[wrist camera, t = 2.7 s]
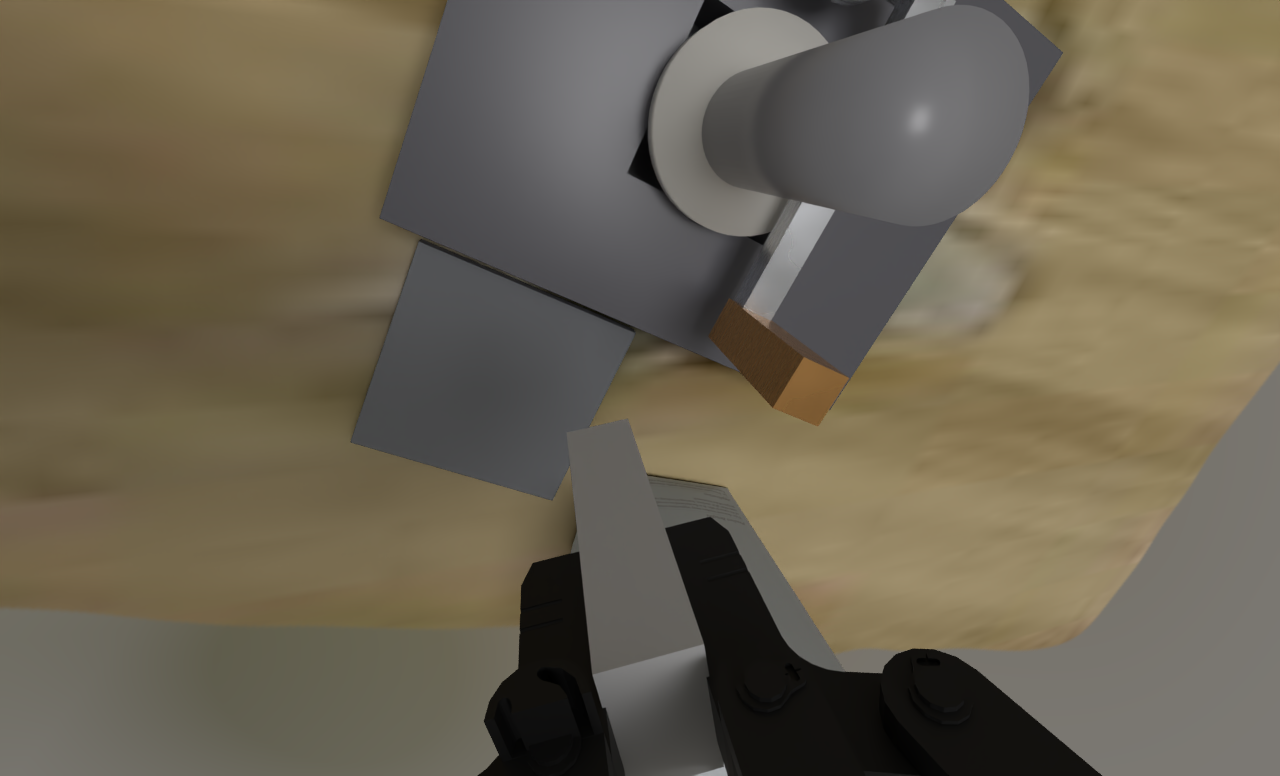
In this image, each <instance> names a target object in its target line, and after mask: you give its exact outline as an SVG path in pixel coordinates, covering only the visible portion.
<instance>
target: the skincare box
mask: <svg viewBox="0 0 1280 776" xmlns="http://www.w3.org/2000/svg"><path fill="white" fill-rule="evenodd" d="M647 477H648V480H649V483H650V486H651V489H652V492H653V495H654V498H655V501H656V503H657V506H658V509H659V512H660V515H661V518H662V521H663V524H664V527H665V528H667V527H671V526H675V525H679V524H683V523H687V522H691V521H695V520H699V519H702V518H706V517H711V518H713V519H714V520H715V521H717V522H718V523H719V524H720V525H722V526H723V527H724V528H726V529H727V530H728V531H729V532H730V534H731V536H732V538H733V540H734V542H735V544H736V546H737V548H738V550H739V554H740V555H741V556H742V558H743V560H744V562H745V564H746V566H747V569H748V572H750V574H751V576H752V578H753V580H754V582H755V584H756V586H757V588H758V590H759V592H760V594H761V596H762V598H763V600H764V602H765V604H766V606H767V608H768V610H769V612H770V614H771V616H772V618H773V620H774V622H775V624H776V626H777V628H778V630H779V632H780V634H781V636H782V637H783V639H784V640H785V642H786V643H787V644H788V646H789V647H790V648H791V649H792V650H793V651H794V652H795V653H796V654H798V655H799V656H800V657H802V658H803V659H805V660H807V661H808V662H810V663H812V664H814V665H817V666H819V667H822V668H825V669H828V670H835V671H842V672H846V671H845V670H844V668H843V667H842V665H841V664H840V662H839V661H838V659H837V658H836V656H835V655H834V653H833V652H832V650H831V649H830V647H829V645H828V644H827V642H826V641H825V639H824V638H823V636H822V635H821V633H820V632H819V630H818V628H817V627H816V625H815V624H814V622H813V621H812V619H811V618H810V616H809V614H808V613H807V611H806V610H805V608H804V607H803V605H802V603H801V602H800V600H799V599H798V597H797V596H796V594H795V592H794V591H793V589H792V588H791V586H790V585H789V583H788V582H787V580H786V579H785V577H784V576H783V574H782V573H781V571H780V569H779V568H778V566H777V565H776V563H775V562H774V560H773V559H772V557H771V556H770V554H769V552H768V551H767V549H766V548H765V546H764V545H763V543H762V541H761V540H760V538H759V537H758V535H757V534H756V532H755V531H754V529H753V528H752V526H751V525H750V523H749V521H748V520H747V518H746V517H745V515H744V514H743V512H742V511H741V509H740V507H739V506H738V504H737V503H736V501H735V500H734V498H733V497H732V495H731V493H730V492H729V490H728V488H725V487H719V486H712V485H705V484H699V483H693V482H686V481H679V480H673V479H666V478H660V477H653V476H647ZM575 552H579V544H578V535H577V533H576V536H575V539H574V542H573V545H572V549H571V553H575ZM694 776H728V775H727V772H726V769H725V765H724V767H721V768H718V769H715V770H711V771H708V772H704V773H701V774H698V775H694Z"/></svg>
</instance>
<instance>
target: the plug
mask: <svg viewBox="0 0 1280 776" xmlns="http://www.w3.org/2000/svg"><path fill="white" fill-rule="evenodd" d="M1028 103H1029V74H1028V68H1027V62H1026V59H1025V56H1024V52H1023V49H1022V47H1021V45H1020V43H1019V41H1018V39H1017V37H1016V36H1015V34H1014V33H1013V31H1012V30H1011V28H1010V27H1009V26H1008V25H1007V24H1006V23H1005V22H1004V21H1003V20H1002V19H1000V18H999V17H998V16H996V15H995V14H993V13H991V12H989V11H987V10H985V9H983V8H979V7H975V6H971V5H951V6H944V7H941V8H938V9H934V10H931V11H928V12H925V13H921V14H918V15H915V16H912V17H909V18H906V19H903V20H900V21H897V22H893V23H890V24H887V25H884V26H881V27H878V28H875V29H872V30H869V31H865V32H862V33H859V34H856V35H853V36H850V37H847V38H844V39H841V40H837V41H834V42H831V43H828V42H827V41H826V39H825V38H824V37H823V36H822V35H821V34H820V32H819V31H817V30H816V29H815V28H814V27H813V26H812V25H810V24H809V23H808V22H806V21H804V20H803V19H801V18H800V17H798V16H796V15H793V14H791V13H788V12H786V11H782V10H778V9H773V8H759V7H757V8H748V9H742V10H739V11H735V12H732V13H729V14H727V15H724V16H722V17H720V18H718V19H716V20H714V21H713V22H711V23H710V24H708V25H707V26H705V27H704V28H702V29H700V30H699V31H697V32H696V33H694V34H693V35H692V36H691V37H690V38H689V39H688V40H686V41H685V42H684V43H683V44H682V45H681V46H680V48H679V49H678V50H677V51H676V52H675V53H674V55H673V56H672V58H671V59H670V60H669V62H668V63H667V65H666V66H665V68H664V70H663V72H662V74H661V76H660V78H659V80H658V83H657V85H656V88H655V91H654V93H653V97H652V101H651V105H650V110H649V118H648V145H649V153H650V158H651V162H652V166H653V169H654V172H655V174H656V177H657V180H658V181H659V183H660V185H661V187H662V189H663V191H664V192H665V194H666V195H667V197H668V198H669V200H670V201H671V202H672V203H673V204H674V205H675V206H676V208H677V209H678V210H679V211H681V212H682V213H683V214H684V215H685V216H687V217H688V218H690V219H691V220H693V221H694V222H696V223H698V224H700V225H702V226H704V227H706V228H708V229H711V230H713V231H715V232H718V233H722V234H726V235H732V236H755V235H761V234H765V233H768V232H771V231H772V229H773V228H774V226H775V224H776V222H777V220H778V219H779V217H780V215H781V213H782V211H783V209H784V208H785V206H786V204H787V202H788V200H789V199H790V200H794V201H799V202H803V203H808V204H812V205H816V206H821V207H825V208H829V209H834V210H838V211H842V212H847V213H851V214H855V215H860V216H864V217H869V218H873V219H877V220H882V221H886V222H890V223H895V224H899V225H905V226H926V225H932V224H936V223H939V222H942V221H945V220H947V219H950V218H952V217H954V216H956V215H958V214H959V213H961V212H963V211H964V210H966V209H967V208H969V207H970V206H971V205H973V204H974V203H975V202H976V201H978V200H979V199H980V198H981V197H982V196H983V195H984V194H985V193H986V192H987V191H988V190H989V189H990V188H991V186H992V185H993V184H994V183H995V182H996V180H997V179H998V178H999V176H1000V175H1001V174H1002V172H1003V171H1004V169H1005V168H1006V166H1007V164H1008V163H1009V161H1010V159H1011V157H1012V155H1013V153H1014V151H1015V149H1016V147H1017V145H1018V142H1019V139H1020V137H1021V134H1022V131H1023V127H1024V124H1025V120H1026V115H1027V110H1028Z"/></svg>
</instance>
